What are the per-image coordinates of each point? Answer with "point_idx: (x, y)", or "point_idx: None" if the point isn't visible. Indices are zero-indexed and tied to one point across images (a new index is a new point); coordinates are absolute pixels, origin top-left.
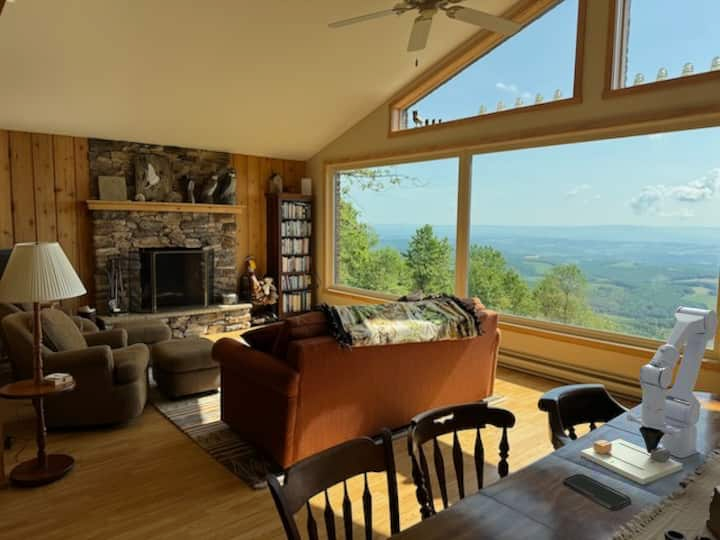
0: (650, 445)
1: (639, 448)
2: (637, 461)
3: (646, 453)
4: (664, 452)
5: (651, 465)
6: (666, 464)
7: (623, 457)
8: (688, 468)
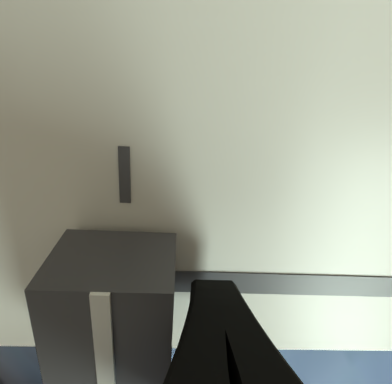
0: (200, 351)
1: (335, 327)
2: (222, 51)
3: (256, 293)
4: (42, 347)
5: (80, 93)
6: (37, 243)
7: (380, 6)
8: (13, 349)
